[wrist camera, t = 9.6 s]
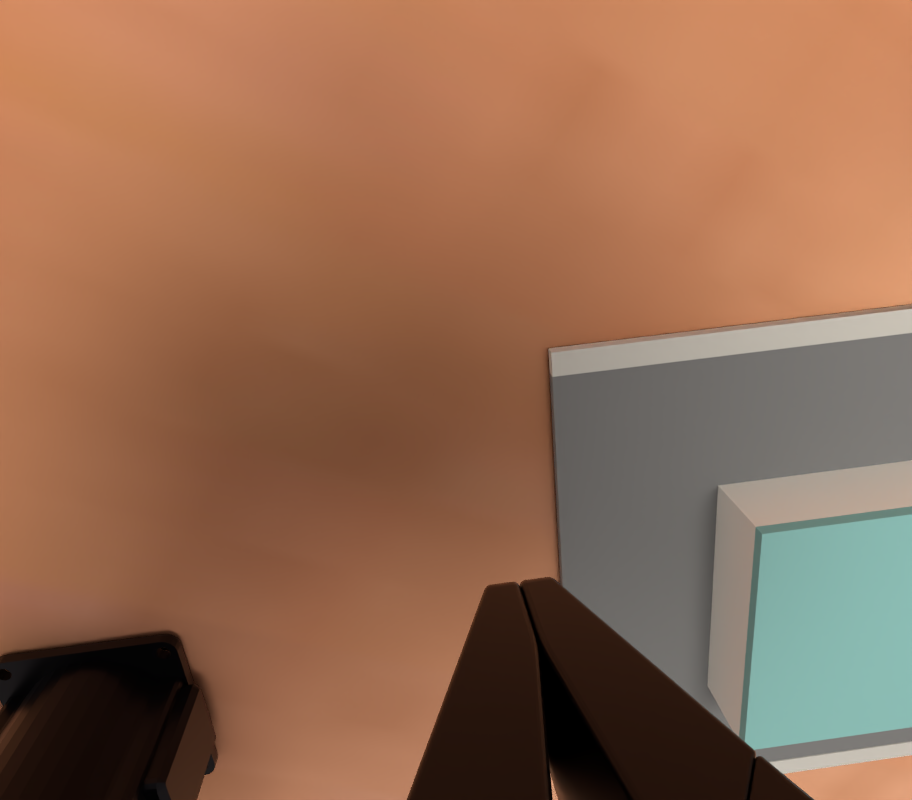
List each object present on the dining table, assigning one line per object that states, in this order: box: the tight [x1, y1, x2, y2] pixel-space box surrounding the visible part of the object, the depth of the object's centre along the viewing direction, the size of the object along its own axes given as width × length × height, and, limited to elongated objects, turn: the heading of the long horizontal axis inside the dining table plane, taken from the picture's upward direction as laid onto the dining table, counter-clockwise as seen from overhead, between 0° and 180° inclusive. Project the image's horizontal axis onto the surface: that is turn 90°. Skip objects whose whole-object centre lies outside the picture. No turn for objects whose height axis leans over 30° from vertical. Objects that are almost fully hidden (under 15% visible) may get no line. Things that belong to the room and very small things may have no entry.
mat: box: [548, 304, 912, 774], centre depth 25 cm, size 18×20×1 cm
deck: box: [707, 460, 912, 750], centre depth 23 cm, size 3×9×7 cm
